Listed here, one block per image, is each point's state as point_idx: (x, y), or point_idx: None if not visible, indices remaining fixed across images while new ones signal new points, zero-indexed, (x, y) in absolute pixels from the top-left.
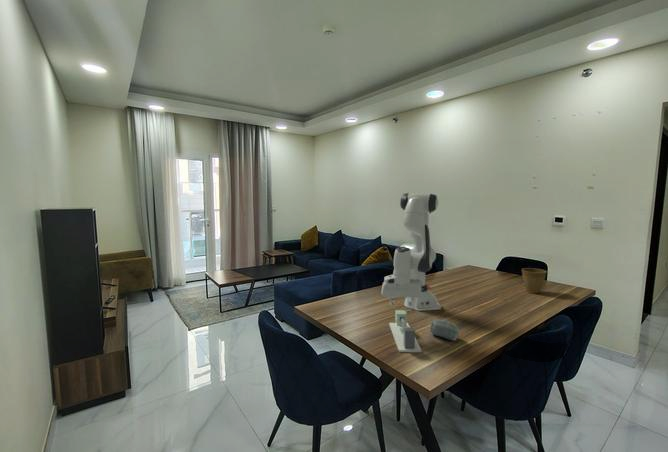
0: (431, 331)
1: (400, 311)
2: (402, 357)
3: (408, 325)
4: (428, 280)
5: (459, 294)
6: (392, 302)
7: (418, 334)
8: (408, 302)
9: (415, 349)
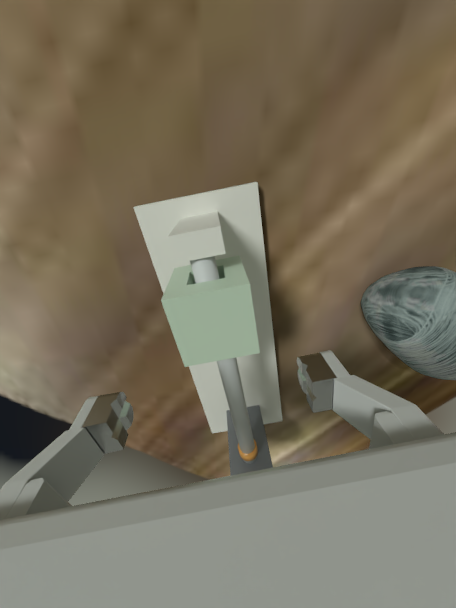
0: (364, 315)
1: (209, 316)
2: (222, 444)
3: (258, 228)
4: None
5: None
6: (112, 448)
7: (296, 302)
8: (308, 378)
9: (263, 422)
